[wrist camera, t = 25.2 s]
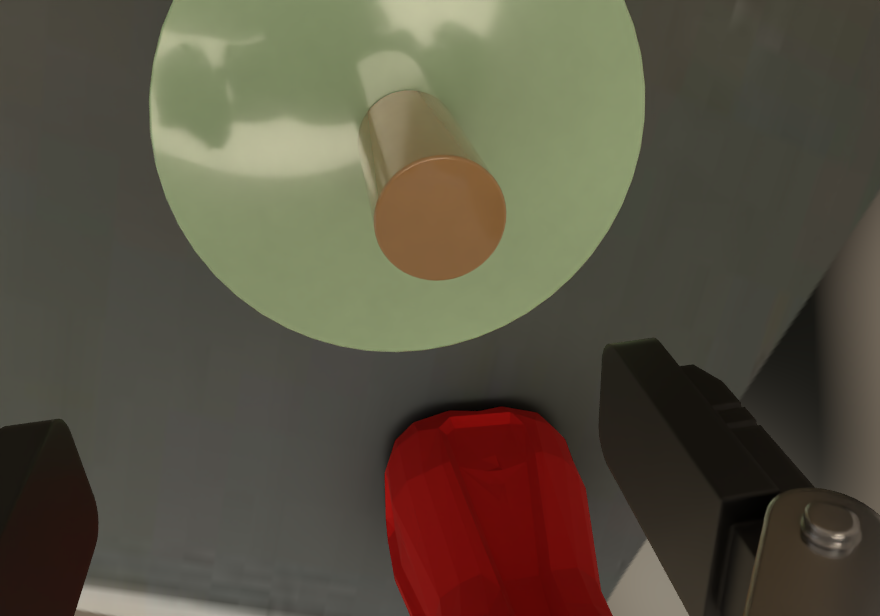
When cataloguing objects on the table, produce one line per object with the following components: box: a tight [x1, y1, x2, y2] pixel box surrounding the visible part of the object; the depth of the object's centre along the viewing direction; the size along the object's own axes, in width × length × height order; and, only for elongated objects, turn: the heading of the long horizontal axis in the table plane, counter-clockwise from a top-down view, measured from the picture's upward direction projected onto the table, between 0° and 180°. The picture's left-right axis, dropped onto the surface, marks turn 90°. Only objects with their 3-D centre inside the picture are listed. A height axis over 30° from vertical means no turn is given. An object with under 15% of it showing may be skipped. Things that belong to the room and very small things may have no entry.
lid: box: [149, 0, 645, 352], centre depth 18 cm, size 13×13×7 cm
